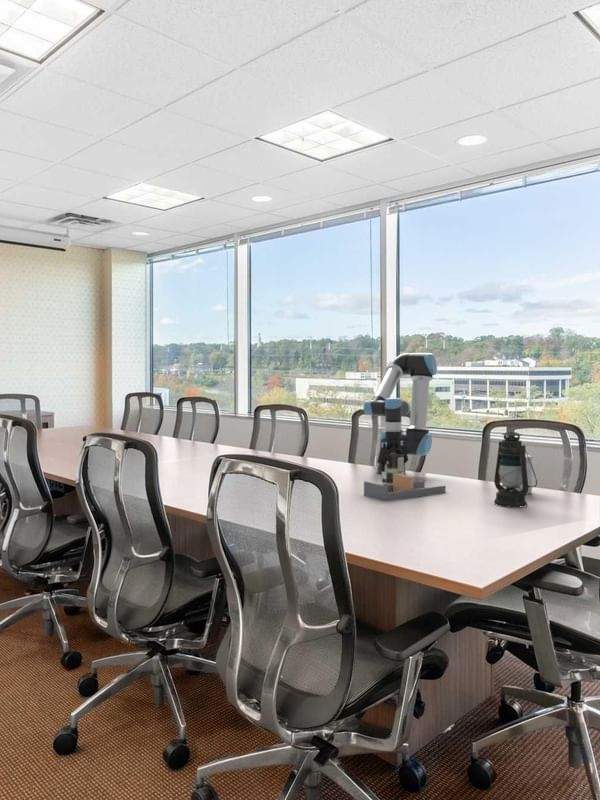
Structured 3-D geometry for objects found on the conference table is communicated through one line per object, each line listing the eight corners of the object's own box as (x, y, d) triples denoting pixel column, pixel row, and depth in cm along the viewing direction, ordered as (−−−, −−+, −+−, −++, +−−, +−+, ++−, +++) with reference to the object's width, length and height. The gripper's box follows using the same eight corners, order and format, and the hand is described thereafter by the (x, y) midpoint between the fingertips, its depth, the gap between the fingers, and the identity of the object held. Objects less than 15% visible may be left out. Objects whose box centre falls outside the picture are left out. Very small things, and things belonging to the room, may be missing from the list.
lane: (422, 487, 289) (422, 474, 289) (445, 492, 277) (445, 479, 277) (363, 495, 270) (364, 481, 269) (385, 500, 258) (385, 486, 257)
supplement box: (526, 490, 283) (527, 453, 282) (532, 494, 274) (533, 456, 273) (505, 489, 284) (506, 453, 283) (510, 493, 275) (511, 456, 274)
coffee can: (387, 485, 287) (387, 455, 286) (378, 481, 297) (378, 452, 296) (407, 484, 290) (407, 454, 289) (397, 480, 300) (398, 451, 299)
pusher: (395, 491, 278) (395, 473, 277) (413, 495, 268) (413, 477, 268) (392, 491, 277) (393, 473, 276) (410, 495, 267) (410, 477, 267)
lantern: (482, 500, 259) (483, 429, 258) (509, 498, 265) (511, 428, 263) (514, 510, 241) (515, 433, 240) (543, 507, 247) (544, 432, 245)
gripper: (405, 428, 301) (405, 473, 302) (369, 431, 289) (369, 478, 290) (416, 429, 295) (415, 476, 296) (380, 432, 283) (379, 481, 284)
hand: (392, 477), depth 293 cm, fingers closed on coffee can, 10 cm apart
